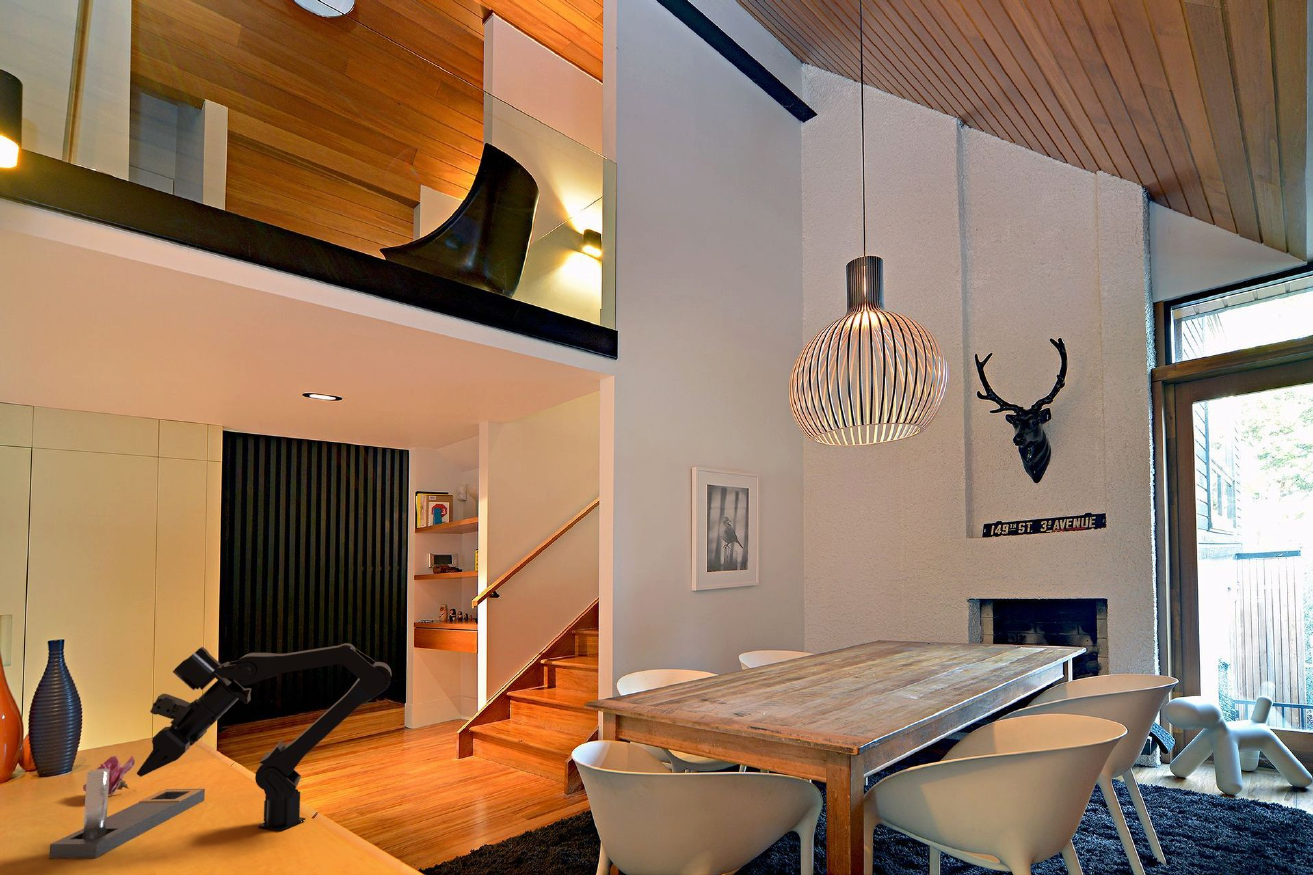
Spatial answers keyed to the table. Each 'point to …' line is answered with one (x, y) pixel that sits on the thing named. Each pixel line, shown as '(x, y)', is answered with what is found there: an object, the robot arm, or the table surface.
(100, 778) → the peg
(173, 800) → the rail
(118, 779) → the flower
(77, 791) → the table surface
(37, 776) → the table surface
